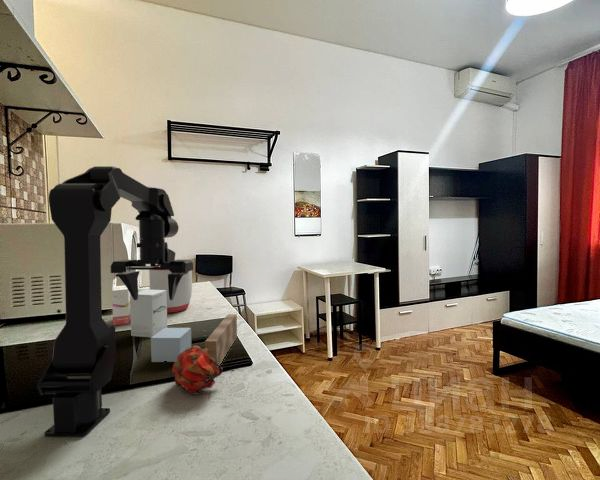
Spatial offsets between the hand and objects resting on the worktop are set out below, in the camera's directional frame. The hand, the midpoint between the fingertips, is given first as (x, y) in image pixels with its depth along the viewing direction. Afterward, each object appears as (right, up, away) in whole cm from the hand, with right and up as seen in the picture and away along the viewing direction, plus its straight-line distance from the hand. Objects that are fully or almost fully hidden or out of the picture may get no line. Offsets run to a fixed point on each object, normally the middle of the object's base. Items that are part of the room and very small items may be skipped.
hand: (153, 299), depth 77 cm
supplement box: (-9, -13, +15) cm, 22 cm away
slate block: (+5, -14, -1) cm, 15 cm away
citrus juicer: (-13, -12, +41) cm, 45 cm away
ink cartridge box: (-23, -13, +26) cm, 38 cm away
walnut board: (+18, -14, 0) cm, 22 cm away
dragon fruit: (+16, -15, -16) cm, 27 cm away
